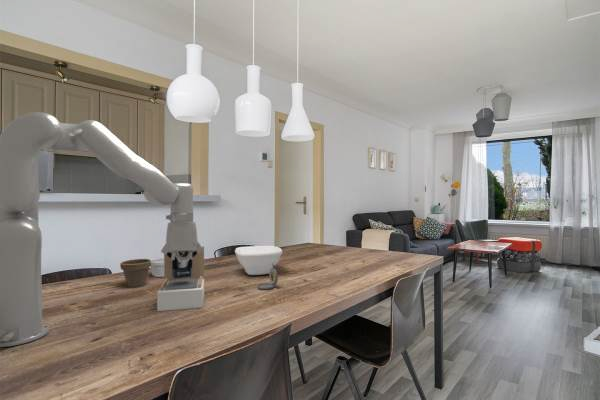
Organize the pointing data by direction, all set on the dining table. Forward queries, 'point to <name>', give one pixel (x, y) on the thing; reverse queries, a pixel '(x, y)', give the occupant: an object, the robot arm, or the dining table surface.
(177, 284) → the open display box
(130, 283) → the flower pot
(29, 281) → the robot arm
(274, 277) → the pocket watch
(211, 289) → the dining table surface
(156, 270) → the ramekin
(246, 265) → the bowl
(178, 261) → the watch
